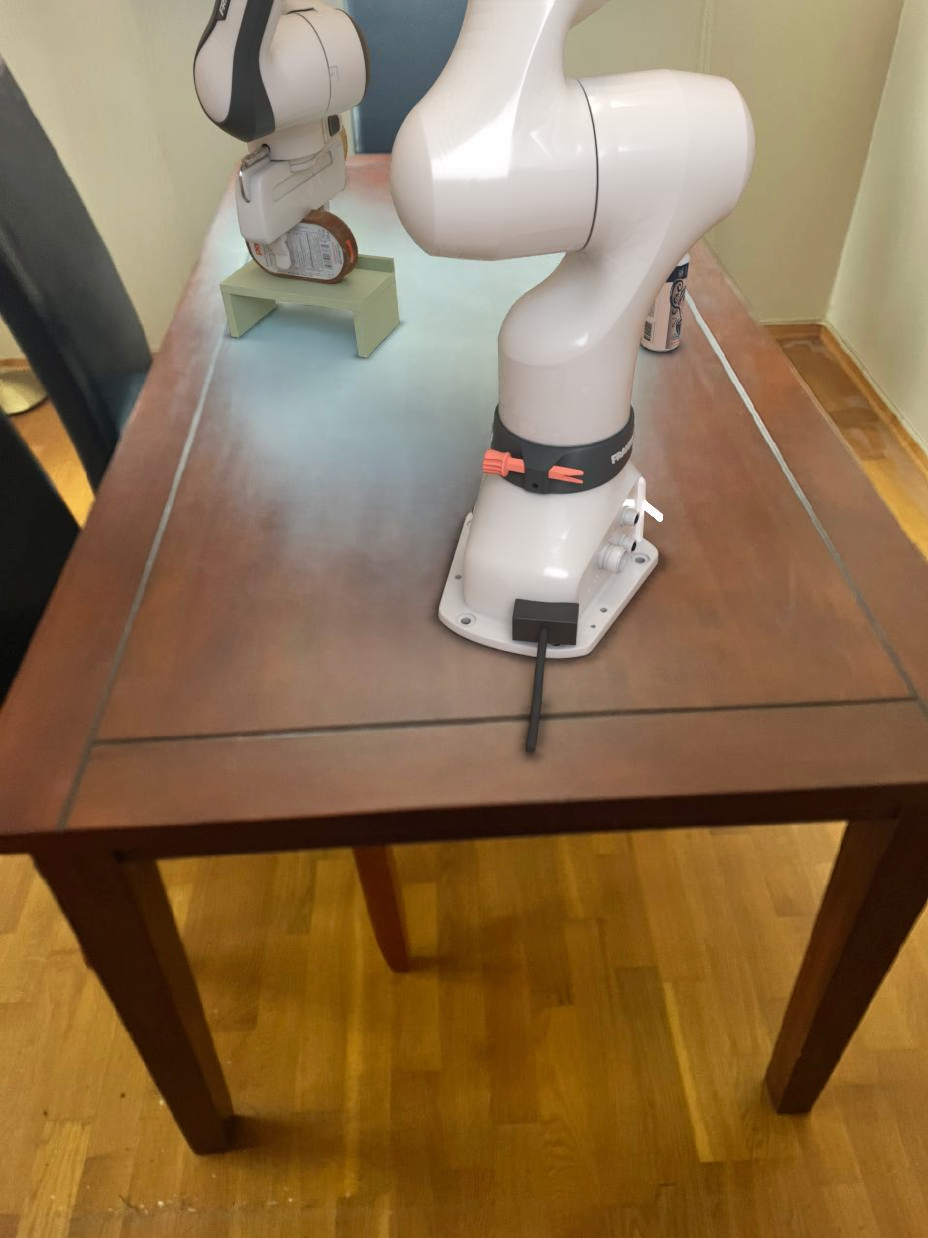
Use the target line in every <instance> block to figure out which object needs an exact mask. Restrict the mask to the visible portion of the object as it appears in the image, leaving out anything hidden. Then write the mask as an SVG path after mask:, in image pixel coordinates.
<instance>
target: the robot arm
mask: <svg viewBox="0 0 928 1238" xmlns="http://www.w3.org/2000/svg"><path fill="white" fill-rule="evenodd" d="M610 1H611V0H467V5H466V9H465V14H464V18H463V22H462V25H461V29H460V32H459V35H458V37H457V40H456V43H455V45H454V47H453V50H452V51H451V54H450V56H449V58H448V60H447V62H446V64H445V66H444V68H443V69H442V70H441V72H440V74H439V76H438V77H437V79H436V80H435V82H434V83H433V85H431V87H430V88H429V90H428V91H427V92H426V93H425V94H424V96H423V97H422V98H421V99H420V100H419V101H418V102H417V103H416V104H415V105H414V106H413V107H412V108H411V110H410V111H409V113H408V114H407V115H406V116H405V118H404V120H403V122H402V123H401V125H400V126H399V129H398V132H397V134H396V136H395V140H394V142H393V144H392V149H391V154H390V157H389V167H388V168H389V170H388V171H389V174H388V175H389V176H388V177H389V189H390V195H391V199H392V204H393V207H394V210H395V212H396V214H397V217H398V219H399V221H400V223H401V226H402V227H403V229H404V230H405V232H406V234H407V235H408V236H409V237H410V238H411V240H412V241H413V242H414V243H415V245H416V246H417V247H418V248H420V249H421V250H422V251H423V252H424V253H426V254H427V255H428V256H430V257H437V258H445V259H455V260H462V261H477V262H498V261H506V260H515V259H522V258H530V257H531V258H532V257H536V256H538V257H540V256H546V255H547V256H548V255H554V254H563V253H565V254H564V255H563V257H562V259H561V260H560V262H559V264H558V265H557V266H556V267H555V269H554V270H553V271H551V273H550V274H549V275H548V276H547V277H546V278H545V279H543V280H542V281H540V282H539V283H538V284H537V285H535V286H534V287H532V288H530V289H528V291H526V292H525V293H523V294H522V295H521V296H520V297H518V299H516V300H515V301H514V303H513V304H512V305H511V306H510V308H509V309H508V311H507V313H506V314H505V316H504V318H503V320H502V322H501V325H500V327H499V331H498V333H497V340H496V341H497V383H498V384H497V389H498V390H497V392H498V393H497V394H498V395H497V397H498V402H497V404H496V405H495V409H494V413H493V420H492V424H491V427H490V428H491V429H490V448H488V449H487V450H486V451H485V453H484V455H483V460H482V471H483V475H482V477H481V482H480V485H479V490H478V494H477V498H476V501H475V503H474V505H473V506H472V509H471V511H470V512H468V513H467V514H466V516H465V519H464V521H463V526H462V529H461V532H460V536H459V539H458V542H457V545H456V548H455V552H454V556H453V559H452V561H451V566H450V569H449V571H448V575H447V578H446V582H445V585H444V589H443V591H442V594H441V595H442V596H441V599H440V601H439V606H438V615H437V618H438V619H439V621H440V622H441V623H442V624H443V625H444V626H445V627H447V628H448V629H449V630H450V631H452V632H454V633H455V634H457V635H459V636H461V637H463V638H465V639H467V640H470V641H472V642H474V643H477V644H480V645H483V646H486V647H489V648H492V649H493V648H494V649H496V650H499V651H503V652H507V653H512V654H516V655H522V656H527V657H533V658H534V657H535V658H536V659H535V666H534V676H533V687H532V689H533V690H532V703H531V710H530V716H529V717H530V718H529V725H528V730H527V737H526V743H525V751H526V752H527V753H534V752H535V751H536V747H537V739H538V733H539V724H540V719H541V712H542V711H541V710H542V700H543V689H544V675H545V666H546V665H545V664H546V659H570V658H577V657H583V656H587V655H589V654H591V652H592V651H594V649H595V648H596V647H597V645H598V644H599V643H600V641H601V640H602V639H603V637H604V636H605V635H606V633H607V632H608V631H609V629H610V628H611V626H612V625H613V624H614V623H615V622H616V620H617V618H618V617H619V616H620V615H621V613H622V612H623V610H624V609H625V608H626V607H627V605H628V604H629V603H630V602H631V600H632V599H633V598H634V596H635V594H636V593H637V592H638V590H639V589H640V588H641V587H642V586H643V584H644V583H645V581H646V580H647V579H648V577H649V576H650V575H651V573H653V570H654V569H655V568H656V566H657V565H658V564H659V550H658V549H657V548H656V546H655V545H654V544H653V543H651V542H650V541H649V540H647V539H646V538H645V537H644V527H645V526H644V525H645V524H644V523H645V511H646V512H647V513H648V514H649V515H651V516H652V517H654V518H655V519H656V521H658V522H662V521H663V516H664V515H663V513H661V512H660V511H659V510H658V509H656V508H655V507H654V506H652V505H651V504H650V503H648V501H647V500H646V489H647V481H646V478H644V476H643V474H642V473H641V472H640V470H638V468H637V467H636V464H635V463H634V461H633V459H632V457H631V456H632V452H633V447H634V441H635V435H636V423H635V410H634V407H633V406H632V396H633V388H634V381H635V373H636V367H637V359H638V355H639V349H640V344H641V338H642V331H643V327H644V324H645V322H646V319H647V317H648V314H649V311H650V309H651V307H652V305H653V303H654V301H655V299H656V297H657V296H658V294H659V292H660V290H661V289H662V287H663V285H664V284H665V282H666V281H667V279H668V277H669V276H670V274H671V273H672V272H673V270H674V269H675V267H676V266H677V265H678V263H679V262H680V261H681V260H682V258H683V257H684V256H685V255H686V254H687V253H689V252H690V250H691V249H693V248H694V246H695V245H696V244H697V243H698V242H699V241H700V240H701V239H703V237H705V236H706V235H707V234H708V233H709V232H710V231H712V230H713V229H714V228H715V227H717V226H718V225H719V224H721V223H722V222H723V221H725V220H726V219H727V218H728V217H729V216H730V215H731V214H732V212H733V211H734V210H735V209H736V208H737V206H738V204H739V203H740V201H741V199H742V197H743V196H744V194H745V193H746V190H747V187H748V185H749V182H750V179H751V177H752V173H753V169H754V165H755V158H756V147H757V146H756V144H757V143H756V132H755V126H754V121H753V117H752V114H751V111H750V109H749V105H748V104H747V102H746V100H745V98H744V96H743V95H742V93H741V92H740V90H739V88H737V87H736V85H735V84H734V83H733V82H732V81H731V80H730V79H729V78H726V77H724V76H719V75H712V74H708V73H707V74H706V73H703V72H701V73H700V72H694V71H689V70H688V71H687V70H679V69H670V68H655V69H647V70H645V69H644V70H635V71H624V72H616V73H615V72H614V73H606V74H596V75H595V74H594V75H584V76H577V77H575V76H572V75H566V74H565V65H564V56H565V55H564V53H565V45H566V41H567V38H568V37H567V36H568V33H569V31H570V30H572V29H573V28H575V27H576V26H578V25H579V24H580V23H582V22H584V21H585V20H586V19H587V18H589V17H590V16H592V15H594V14H595V13H597V12H598V11H599V10H600V9H602V8H603V7H604V6H605V5H606V4H608V2H610ZM209 17H210V18H209V20H208V22H207V24H206V26H205V28H204V30H203V32H202V34H201V37H200V39H199V42H198V44H197V46H196V49H195V53H194V57H193V58H194V59H193V64H192V77H193V85H194V90H195V94H196V98H197V100H198V103H199V106H200V108H201V109H202V111H203V113H204V115H205V116H206V118H207V119H208V120H209V121H211V122H212V123H213V124H214V125H215V126H216V127H217V128H219V129H220V130H221V131H223V132H224V133H226V134H227V135H229V136H231V137H233V138H235V139H236V140H239V141H241V142H243V143H245V144H246V145H247V151H248V153H247V154H245V155H244V156H243V157H242V158H241V161H240V162H241V164H240V166H239V170H237V172H236V177H235V183H234V188H235V189H234V193H235V205H236V214H237V222H238V228H239V233H240V235H241V236H242V238H243V239H244V241H245V240H246V241H247V242H251V243H257V244H267V245H268V246H269V247H270V249H271V250H272V252H273V253H274V254H275V259H276V264H277V267H279V268H281V269H289V268H290V267H291V266H293V265H294V263H295V259H294V253H293V251H291V250H288V248H287V246H286V244H285V241H286V240H287V236H286V232H287V231H289V230H290V229H291V228H293V227H294V226H295V225H297V224H298V223H299V222H301V221H302V219H303V218H304V217H305V216H306V215H307V214H308V213H309V212H310V211H311V210H312V209H314V210H322V211H327V212H330V209H331V208H330V201H331V200H332V199H333V198H335V197H336V196H338V195H340V194H341V193H342V192H343V191H344V190H345V185H346V182H347V169H346V168H347V167H346V166H347V165H346V161H345V155H344V147H343V141H342V138H341V136H340V134H339V133H340V132H341V131H342V128H343V126H344V122H343V116H342V113H345V112H348V111H350V110H352V109H354V108H355V107H356V108H357V107H358V106H360V105H361V104H362V102H363V100H364V99H365V97H366V95H367V93H368V90H369V87H370V82H371V76H372V60H371V52H370V47H369V43H368V40H367V37H366V35H365V33H364V32H363V30H362V28H361V27H360V24H358V22H357V21H356V20H355V19H354V18H353V17H352V16H351V15H350V14H349V13H347V12H346V11H344V10H343V9H342V8H334V7H332V6H330V5H329V4H327V3H326V2H324V1H323V0H215V1H214V4H213V8H212V12H211V15H210V16H209Z"/></svg>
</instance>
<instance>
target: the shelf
mask: <svg viewBox="0 0 928 1238" xmlns="http://www.w3.org/2000/svg"><path fill="white" fill-rule="evenodd" d="M219 288H220V292H221V297H222V302H223V307H224V311H225V315H226V320H227V324H228V327H229V328H228V329H229V333H230V337H232V338H237V339H238V338H241V337H242V336H243V335H245V333H246V332H248V331H249V330H250V329H251V328H252V327H254V326H255V325H256V324H257V323H258V322H260V321H261V320H263V318H265V317H266V316H267V315H269V313H271V312H272V311H274V309H276V308H277V307H278V306H277V305H278V304H277V301H280V302H285V303H293V304H299V305H306V306H312V307H313V306H314V307H321V308H328V309H335V310H342V311H350V312H352V317H353V325H354V331H355V340H356V349H357V355H358V357H360V358H364V359H365V358H366V359H367V358H368V357H369V356H370V355H371V354H372V353H373V352H374V351H375V350H377V348H378V347H379V346H380V345H381V344H382V342H383V341H385V339H387V338H388V336H389V335H391V333H393V331H394V330H395V329H396V328H397V327H398V326H399V325H400V315H399V303H398V302H399V301H398V294H397V283H396V271H395V258H394V257H387V256H379V255H370V254H362V253H358V260H357V263H356V265H355V267H354V269H353V270H352V271H351V272H350V273H349V274H347V275H346V276H345V277H344V278H343V279H341V280H340V281H338V282H335V283H331V284H327V283H319V282H313V281H307V280H300V279H294V278H287V277H281V276H275V275H272V274H270V273H268V272H266V271H265V270H263V269H262V268H261V267H260V266H259V265H258V264H257V263H256V262H255V261H254V260H253V258H251V260H249V261H248V262H247V263H245V264H244V265H243V266H241V267H240V268H239V269H237V270H235V272H233V273H232V274H231V275H229V276H227V278H225V279H224V280H222V281H220V282H219Z"/></svg>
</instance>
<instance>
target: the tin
mask: <svg viewBox="0 0 928 1238" xmlns="http://www.w3.org/2000/svg"><path fill="white" fill-rule="evenodd" d="M286 236H287V240H286V241H285V244H286V246H287V248H288V250H291V251H293V253H294V259H295V263H294V265H293V266H291V267H290V268H289V269H281V268H279V267H277V264H276V259H275V254H274V253H273V252H272V250H271V249H270V247H269V246H268V245H267V244H257V243H251V242H247V241H246V240H245V239H244V241H245V245H246V249H247V250H248V253H249V255H250V257H251V259H253V260H254V261H255V262H256V263H257V264H258V265H259V266H260V267H261V268H262V269H263V270H265V271H266V272H268V273H270V274H272V275H275V276H281V277H287V278H294V279H300V280H307V281H313V282H319V283H327V284H331V283H335V282H338V281H340V280H341V279H343V278H344V277H345V276H346V275H347V274H349V273H350V272H351V271H352V270H353V269H354V267H355V265H356V263H357V260H358V254H359V247H358V242H357V240H356V237H355V235H354V233H353V232H352V230H351V229H350V227H349V225H348V224H347V223H346V222H345V221H344V220H343V219H342V218H341V217H339V216H338V215H336V214H334V213H333V212H330V211H329V212H327V211H322V210H314V209H312V210H311V211H310V212H309V213H308V214H307V215H306V216H305V217H304V218H303V219H302V221H301V222H299V223H298V224H297V225H295V226H294V227H293V228H291V229H290V230H289V231H287V232H286Z"/></svg>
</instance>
